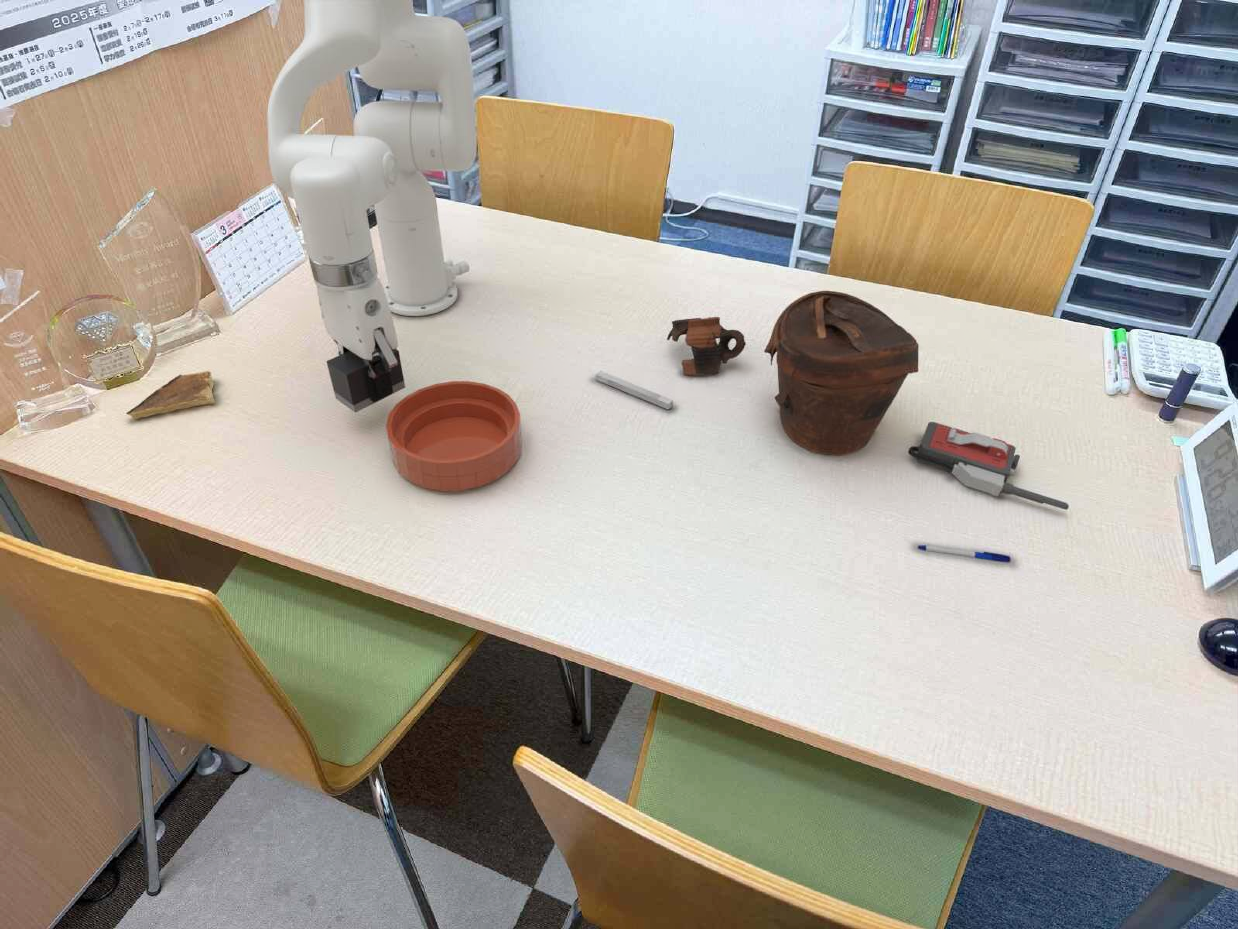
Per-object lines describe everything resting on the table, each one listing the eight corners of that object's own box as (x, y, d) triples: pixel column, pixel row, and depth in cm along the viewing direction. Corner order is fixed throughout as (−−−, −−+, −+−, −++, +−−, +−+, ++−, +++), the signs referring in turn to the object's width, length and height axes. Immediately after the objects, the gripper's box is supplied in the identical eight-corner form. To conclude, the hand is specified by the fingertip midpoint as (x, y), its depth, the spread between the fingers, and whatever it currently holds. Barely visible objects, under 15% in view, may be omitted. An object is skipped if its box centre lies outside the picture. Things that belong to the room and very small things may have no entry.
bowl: (466, 398, 118) (463, 366, 114) (548, 451, 109) (546, 418, 106) (367, 452, 108) (359, 420, 105) (448, 515, 100) (442, 481, 96)
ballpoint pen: (1008, 558, 97) (1011, 552, 96) (1009, 564, 96) (1012, 558, 96) (917, 547, 98) (919, 541, 97) (918, 552, 97) (920, 547, 97)
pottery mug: (663, 377, 124) (659, 322, 122) (679, 370, 132) (675, 319, 131) (742, 373, 119) (739, 316, 118) (754, 366, 128) (751, 313, 127)
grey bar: (596, 379, 122) (596, 374, 121) (600, 376, 122) (600, 370, 122) (668, 409, 117) (668, 404, 116) (672, 405, 117) (673, 400, 117)
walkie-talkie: (901, 468, 108) (1063, 520, 102) (910, 443, 105) (1077, 494, 99) (916, 432, 114) (1069, 479, 108) (924, 406, 111) (1083, 453, 105)
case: (787, 371, 125) (808, 263, 113) (915, 420, 116) (951, 309, 104) (729, 430, 114) (745, 317, 102) (865, 489, 105) (900, 373, 93)
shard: (130, 422, 112) (125, 411, 111) (132, 391, 117) (127, 380, 116) (215, 405, 115) (211, 395, 114) (213, 376, 121) (210, 366, 119)
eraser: (385, 374, 115) (378, 337, 111) (405, 387, 112) (398, 350, 108) (335, 398, 110) (326, 361, 106) (355, 413, 108) (346, 375, 104)
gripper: (412, 278, 97) (431, 403, 109) (331, 233, 105) (358, 353, 117) (357, 301, 93) (384, 428, 104) (278, 252, 101) (311, 375, 113)
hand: (370, 387), depth 111 cm, fingers closed on eraser, 4 cm apart
